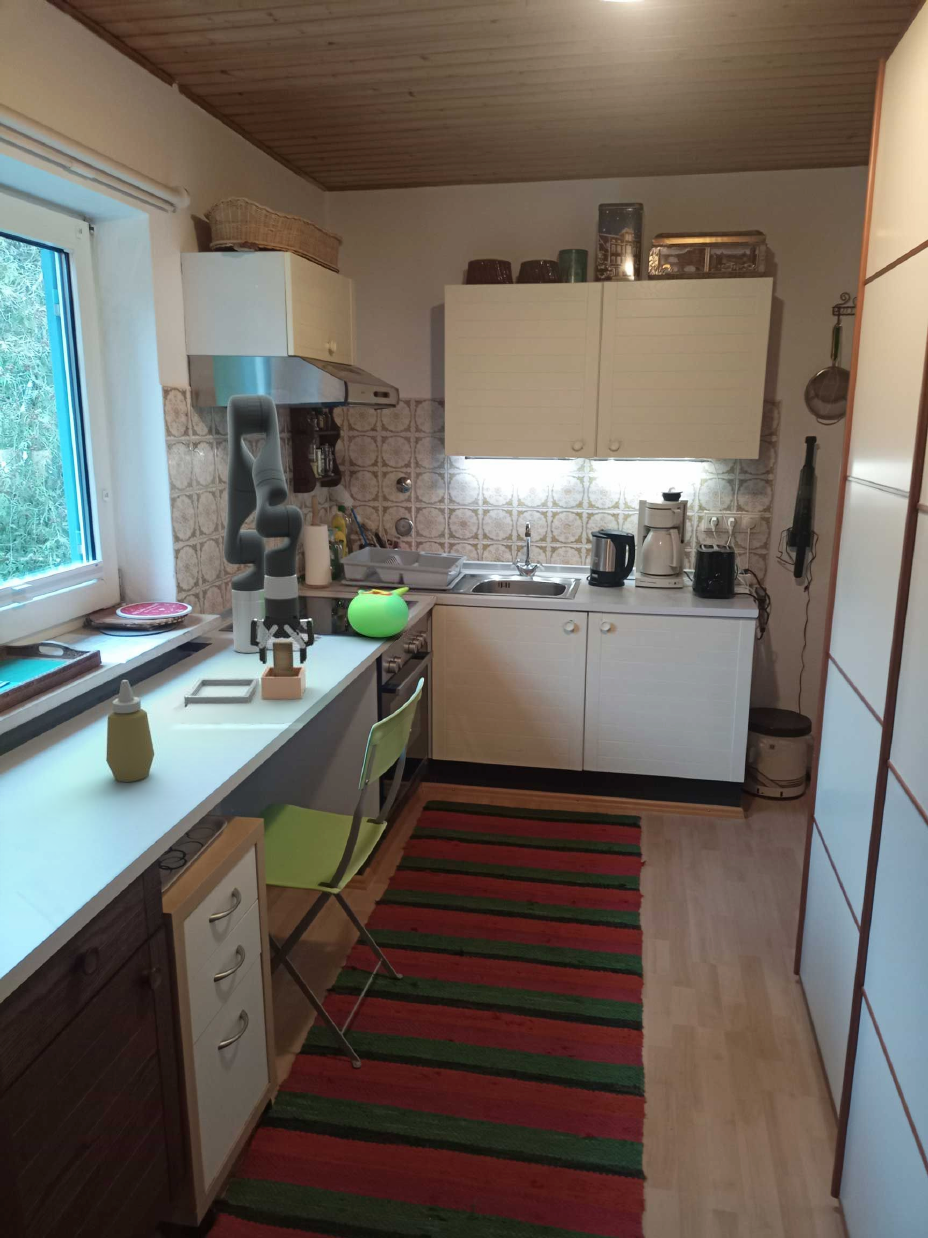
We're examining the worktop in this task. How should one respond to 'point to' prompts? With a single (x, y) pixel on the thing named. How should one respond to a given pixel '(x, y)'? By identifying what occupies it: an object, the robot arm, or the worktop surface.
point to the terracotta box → (283, 684)
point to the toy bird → (378, 612)
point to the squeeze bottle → (128, 738)
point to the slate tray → (246, 698)
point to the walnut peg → (283, 658)
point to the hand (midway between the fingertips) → (283, 663)
